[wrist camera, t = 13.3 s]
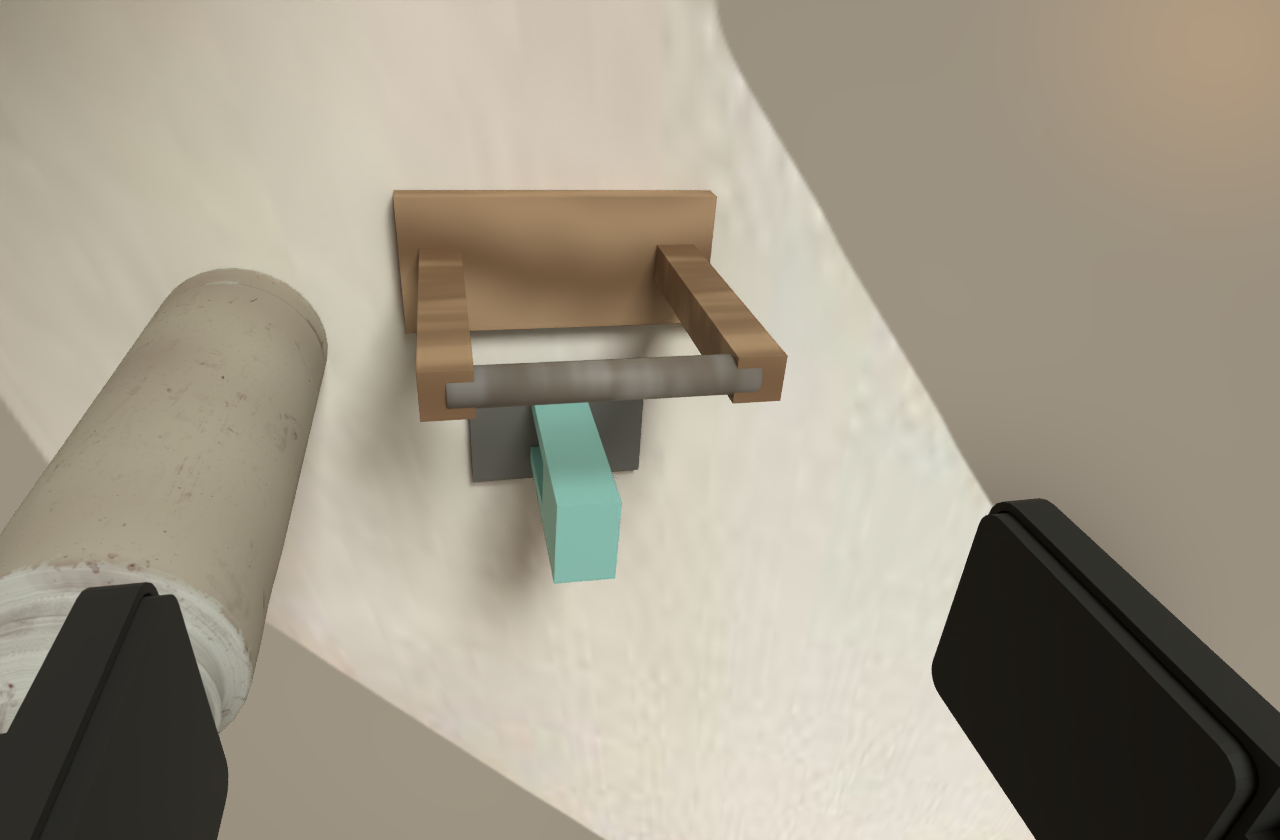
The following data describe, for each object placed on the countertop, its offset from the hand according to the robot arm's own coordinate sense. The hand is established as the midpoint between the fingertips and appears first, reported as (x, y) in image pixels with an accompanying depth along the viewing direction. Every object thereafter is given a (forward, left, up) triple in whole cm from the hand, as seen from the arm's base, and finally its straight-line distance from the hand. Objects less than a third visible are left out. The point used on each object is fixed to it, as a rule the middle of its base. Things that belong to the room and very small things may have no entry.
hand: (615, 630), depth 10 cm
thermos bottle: (+12, -12, -34) cm, 38 cm away
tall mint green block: (+18, +4, -34) cm, 38 cm away
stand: (+8, +4, -34) cm, 35 cm away
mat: (+18, +4, -34) cm, 39 cm away
